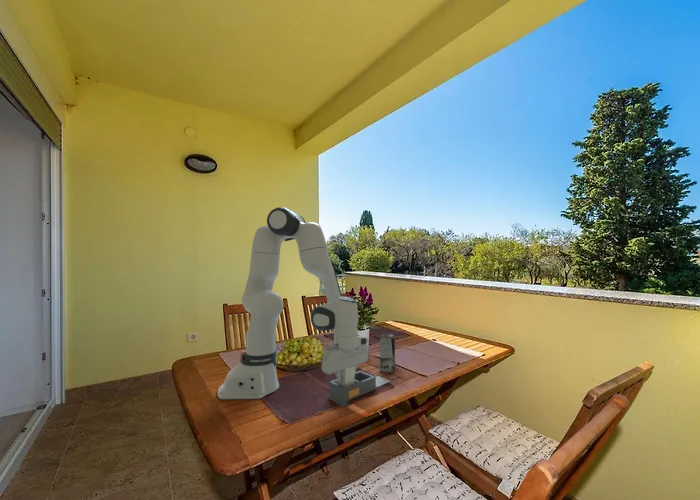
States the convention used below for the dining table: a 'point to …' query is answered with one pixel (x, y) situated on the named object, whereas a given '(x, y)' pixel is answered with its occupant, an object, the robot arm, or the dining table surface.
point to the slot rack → (354, 388)
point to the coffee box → (387, 352)
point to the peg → (348, 376)
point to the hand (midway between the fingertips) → (346, 379)
